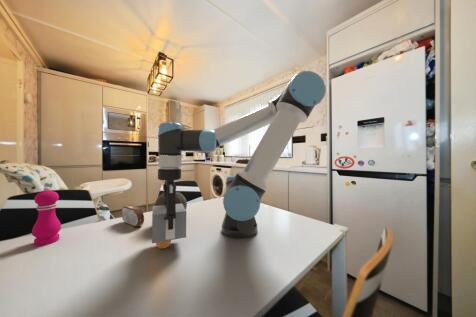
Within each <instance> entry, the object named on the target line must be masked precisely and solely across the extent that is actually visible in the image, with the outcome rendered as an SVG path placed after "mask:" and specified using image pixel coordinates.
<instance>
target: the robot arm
mask: <svg viewBox="0 0 476 317" xmlns="http://www.w3.org/2000/svg"><path fill="white" fill-rule="evenodd" d="M325 95H326V84H325V81H324V79H323V77H321V76H320V75H319V74H318V73H316V72H314V71H311V70H303V71H300V72H297V73H296V74H295V75H294V76H293V77H291V79H290V80H289V82H288V83H287V85H286V87H285V88H284V89H283V90H282V92H281V93H280V94H279V95H277V97H275V98H273V99H271V100H269V101H268V102H267V105H265V106H262V107H260V108H258V109H256V110H253V111H251V112H250V113H247V114H244V115H243V116H240V117H238V118H237V119H234V120H231V121H230V122H227V123H224V124H222V125H220V126H218V127H216V128H214V129H212V130H210V129H204V128H203V129H184V128H183V126H182V124H181V123H178V122H170V121H167V122H166V121H165V122H161V123H159V126H158V134H157V138H158V142H157V144H158V146H157V147H158V157H157V158H155V161H156V162H157V163H158V164H157V167H158V170H157V180H159V181H163V182H164V184H162V189H163V190H162V191H163V193H164V205H166V216H167V217H164V220H166V240H168V239H174V238H175V218H176V204H175V197H176V192H177V191H176V190H177V185H176V183H174V182H175V181H179V180H181V179H182V169H181V167H182V163H183V162H182V160H183V159H182V157H183V156H182V152H199V153H200V152H201V153H204V154H205V153H206V154H208V153H211V152H215V151H216V149H218V148H220V147H222V146H224V145H227V144H228V143H230V142H233V141H235V140H238V139H239V138H242V137H244V136H246V135H249V134H251V133H253V132H255V131H257V130H259V129H262V128H263V127H266V126H268V125H269V126H268V127H267V129H266V130H265V133H264V135H263V136H262V137H261V140H259V143H258V145H257V146H256V148H255V150H254V151H253V153H252V155H251V157H250V158H249V160H248V162H247V164H246V166H245V167H244V169H243V170H241V171H238V172H237V173H236V174H235V175H234V176H230V175H229V176H227V177H226V179H225V180H226V181H225V192H224V196H223V199H222V204H223V208H224V211H225V214H224V216H223V220H222V223H221V232H222V234H224V235H225V236H227V237H228V238H229V237H230V238H235V239H236V238H237V239H246V238H250V237H253V236H255V235H256V234H257V232H258V223H257V220H256V217H255V216H256V215H257V214H258V213H259V210H260V208H261V200H262V198H263V196H265V193H266V191H267V186H266V182H267V181H268V178H269V177H270V175H271V174H272V172H273V169H274V168H275V166H276V165H277V163H278V162H279V160H280V158H281V156H282V154H283V153H284V150H285V149H286V147H287V146H288V144H289V142H290V141H291V138H292V137H293V135H295V134H294V133H295V132H296V130H297V128H298V126H299V125H300V123H304V122H307V120H308V118H309V117H310V114H312V112H313V110H314V108H315V107H316V106H317V105H319V104H320V103H321V102H322V100H324V97H325ZM170 214H173V215H170ZM174 240H175V239H174Z"/></svg>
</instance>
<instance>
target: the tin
mask: <svg viewBox="0 0 476 317" xmlns="http://www.w3.org/2000/svg"><path fill="white" fill-rule="evenodd" d="M121 218H122V221H123V222H124V223H125V224H126V225H129V226H131V227H134V228H137V227H140V226H142V225H144V222H145V217H144V211H143V210H142V209H141V207H139V206H135V205H133V204H128V205H125V206H124V205H123V207H121Z"/></svg>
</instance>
